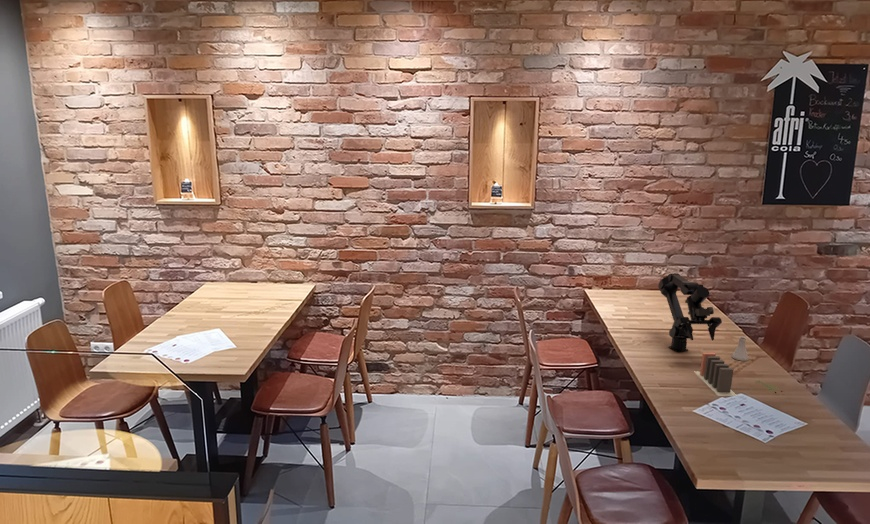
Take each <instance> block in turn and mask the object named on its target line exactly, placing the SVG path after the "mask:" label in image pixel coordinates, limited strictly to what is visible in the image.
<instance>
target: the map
mask: <svg viewBox="0 0 870 524" xmlns="http://www.w3.org/2000/svg"><path fill="white" fill-rule="evenodd" d="M755 384H761V385H762V386H764V388H766V389H767V390H768V391H769V392H771V393H772V392H773V391H776V390H779V389H780V388H778V387H776V386H774V385H772V384H770V383H764V382H762V381H760V380H756V381H755Z"/></svg>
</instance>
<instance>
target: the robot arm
mask: <svg viewBox="0 0 870 524" xmlns="http://www.w3.org/2000/svg"><path fill="white" fill-rule="evenodd" d="M678 288H680V292H681V294H682V295H683V296H687V297H686V299H685V300H684V303H685V304H687V309H688V312H687V314H688V315H689V316H685V315H684V314H683V311H682V307H681V303H680V301H679V298H678V296H677V292H678ZM658 289H659V291H660V294H661V295H663V296H664V297H665V298H666V302H667V304H668V306H669V307H668V308H669V310H670V312H671V313H670V314H671V317H672V320H673V323H672V326H671V329H670V330H669V331H668V333H669V334H668V335H669V337H670V338H671V344H670V345H671V346H668V348H669V349H670V350H672V351H675V352H676V353H681V352H688V351H689V349H688V348H687V345H688V344H687V343H688V340H689V339H690V341H693V340H694V335H693V332H694V328H693V325H707V327H708V328H707V330H708V333H709V337H710V339H711V340H712V341H714V340H715V333H716V329H717V328H718V327H719V326H720V325H721V324H722V323H723V322H722V318H721V317H718V316H717V317H716V316H712V317H710V316H711V315H714V312H715V310H714V308H713V306H708V307H706V308H704V307H703V306H702V303H704V301H706V300H707V298H708V297H709V296H710V290H709V289H708V288H706V287H705V286H704V284H699V283H698V282H695V281H690V280H688V279H686V278H685V277H683V276H682V275H681V274H680V273H676V272H675V273H668V274H667V275H666V276H665V277H663V278H661V279H660V281H659V282H658ZM708 317H710V318H709V319H707V318H708Z"/></svg>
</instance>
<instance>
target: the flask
mask: <svg viewBox="0 0 870 524" xmlns="http://www.w3.org/2000/svg"><path fill="white" fill-rule="evenodd" d="M738 339H739V341H738V344H737V346H736V348H735V350H734V351H733V353H732V355H731V358H732V359H734V360H735V361H736V360H737V361H743V362H744V361H746V362H747V361H748V360H749V355H748V352H747V348H746V341H747V337H745V336H739V337H738Z"/></svg>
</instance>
